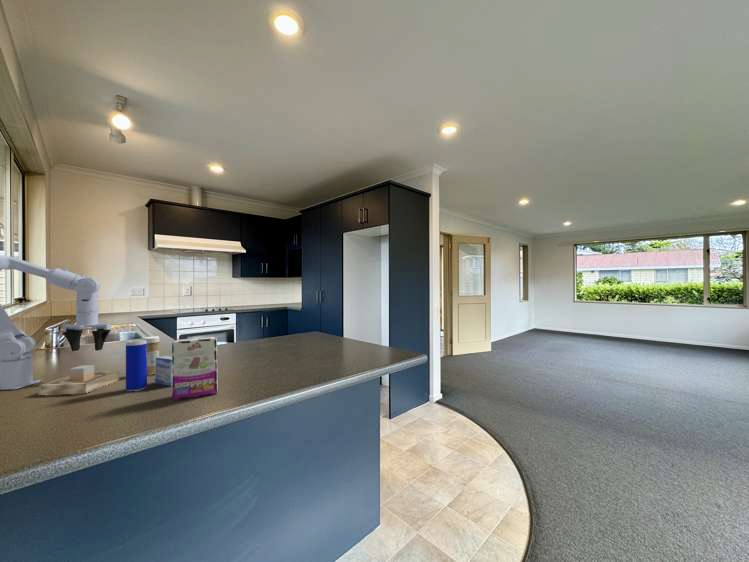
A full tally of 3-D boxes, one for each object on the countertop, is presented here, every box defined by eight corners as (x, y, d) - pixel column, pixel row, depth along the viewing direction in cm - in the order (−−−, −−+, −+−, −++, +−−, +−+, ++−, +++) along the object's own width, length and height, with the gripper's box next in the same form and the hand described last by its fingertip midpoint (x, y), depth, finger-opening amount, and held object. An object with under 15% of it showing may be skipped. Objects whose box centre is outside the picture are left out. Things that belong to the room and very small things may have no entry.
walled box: (38, 395, 89) (38, 385, 89) (77, 381, 102) (77, 372, 102) (86, 393, 90) (86, 383, 90) (119, 380, 103) (119, 371, 103)
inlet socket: (58, 390, 92) (58, 382, 92) (79, 382, 99) (79, 375, 99) (84, 389, 93) (84, 381, 93) (103, 382, 100) (103, 374, 100)
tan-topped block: (69, 388, 94) (69, 368, 94) (81, 384, 98) (81, 365, 98) (83, 387, 94) (83, 368, 94) (94, 383, 98) (94, 365, 98)
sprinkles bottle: (158, 371, 113) (158, 335, 113) (159, 374, 110) (159, 337, 110) (143, 373, 110) (143, 336, 111) (144, 376, 107) (144, 338, 107)
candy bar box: (218, 389, 93) (217, 335, 93) (217, 394, 89) (217, 338, 89) (174, 395, 88) (174, 338, 89) (171, 401, 84) (171, 341, 84)
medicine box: (154, 384, 99) (154, 357, 99) (168, 380, 103) (168, 354, 103) (171, 387, 96) (171, 359, 96) (184, 382, 100) (184, 356, 100)
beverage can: (150, 387, 95) (150, 339, 95) (133, 393, 90) (133, 342, 91) (139, 385, 97) (139, 338, 97) (121, 391, 92) (121, 341, 92)
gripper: (54, 313, 103) (54, 353, 103) (99, 312, 104) (99, 352, 104) (73, 311, 110) (72, 349, 110) (115, 310, 111) (115, 347, 111)
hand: (87, 350), depth 107 cm, fingers open, 7 cm apart
